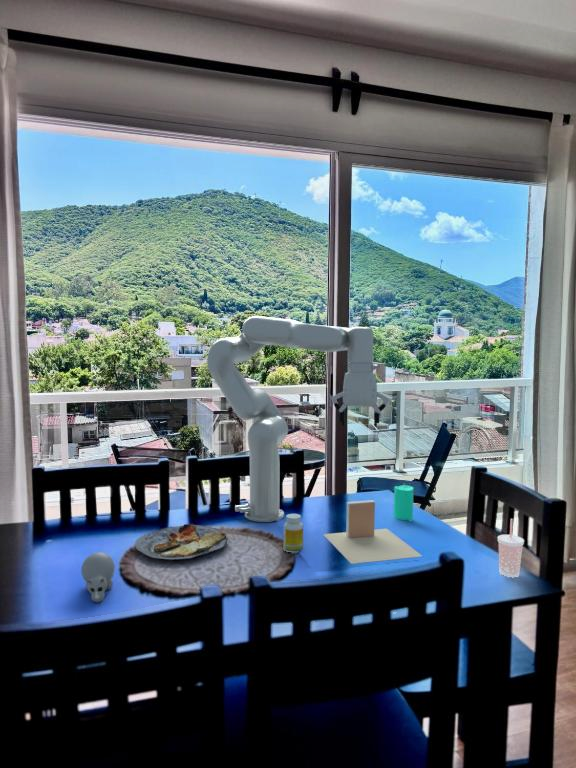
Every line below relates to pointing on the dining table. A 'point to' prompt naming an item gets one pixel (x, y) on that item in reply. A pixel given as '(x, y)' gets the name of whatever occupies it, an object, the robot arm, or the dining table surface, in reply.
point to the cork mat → (372, 547)
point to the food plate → (181, 541)
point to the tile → (360, 518)
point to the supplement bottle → (293, 534)
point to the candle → (403, 502)
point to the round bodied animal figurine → (98, 574)
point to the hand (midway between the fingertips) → (359, 425)
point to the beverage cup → (510, 554)
